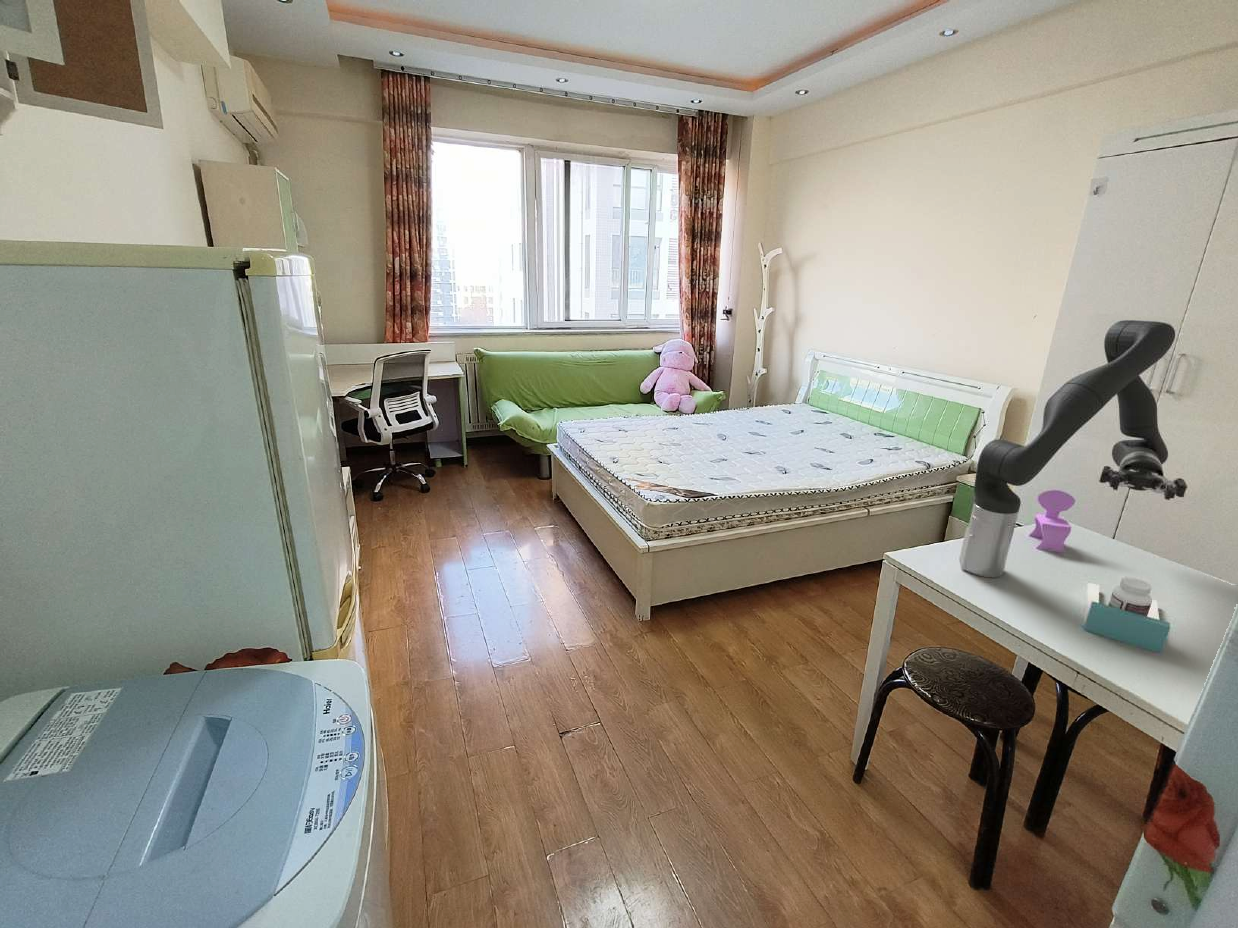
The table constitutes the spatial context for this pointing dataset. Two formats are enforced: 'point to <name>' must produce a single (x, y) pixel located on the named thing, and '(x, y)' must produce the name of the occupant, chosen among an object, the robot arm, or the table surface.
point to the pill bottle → (1132, 596)
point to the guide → (1125, 623)
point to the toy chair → (1053, 520)
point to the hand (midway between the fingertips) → (1142, 490)
